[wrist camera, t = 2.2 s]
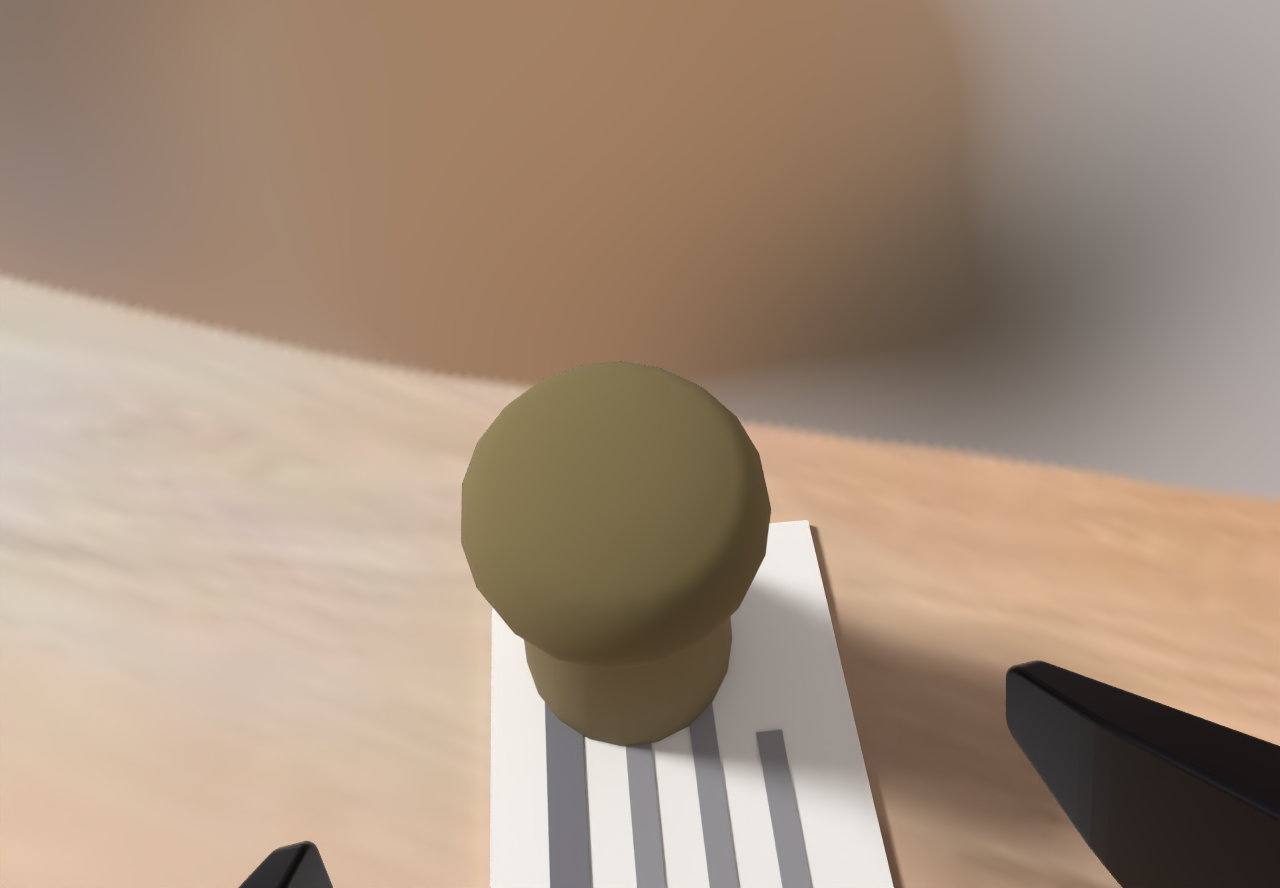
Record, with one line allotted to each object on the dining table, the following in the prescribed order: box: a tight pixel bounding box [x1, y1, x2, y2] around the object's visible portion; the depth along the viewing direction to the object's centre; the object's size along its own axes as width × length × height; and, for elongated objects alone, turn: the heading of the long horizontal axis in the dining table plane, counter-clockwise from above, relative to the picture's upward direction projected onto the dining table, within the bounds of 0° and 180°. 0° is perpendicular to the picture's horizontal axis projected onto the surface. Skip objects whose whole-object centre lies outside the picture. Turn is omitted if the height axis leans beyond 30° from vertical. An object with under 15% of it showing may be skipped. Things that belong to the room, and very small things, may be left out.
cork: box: [461, 361, 771, 746], centre depth 15 cm, size 6×6×11 cm
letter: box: [490, 520, 894, 888], centre depth 18 cm, size 12×10×1 cm
